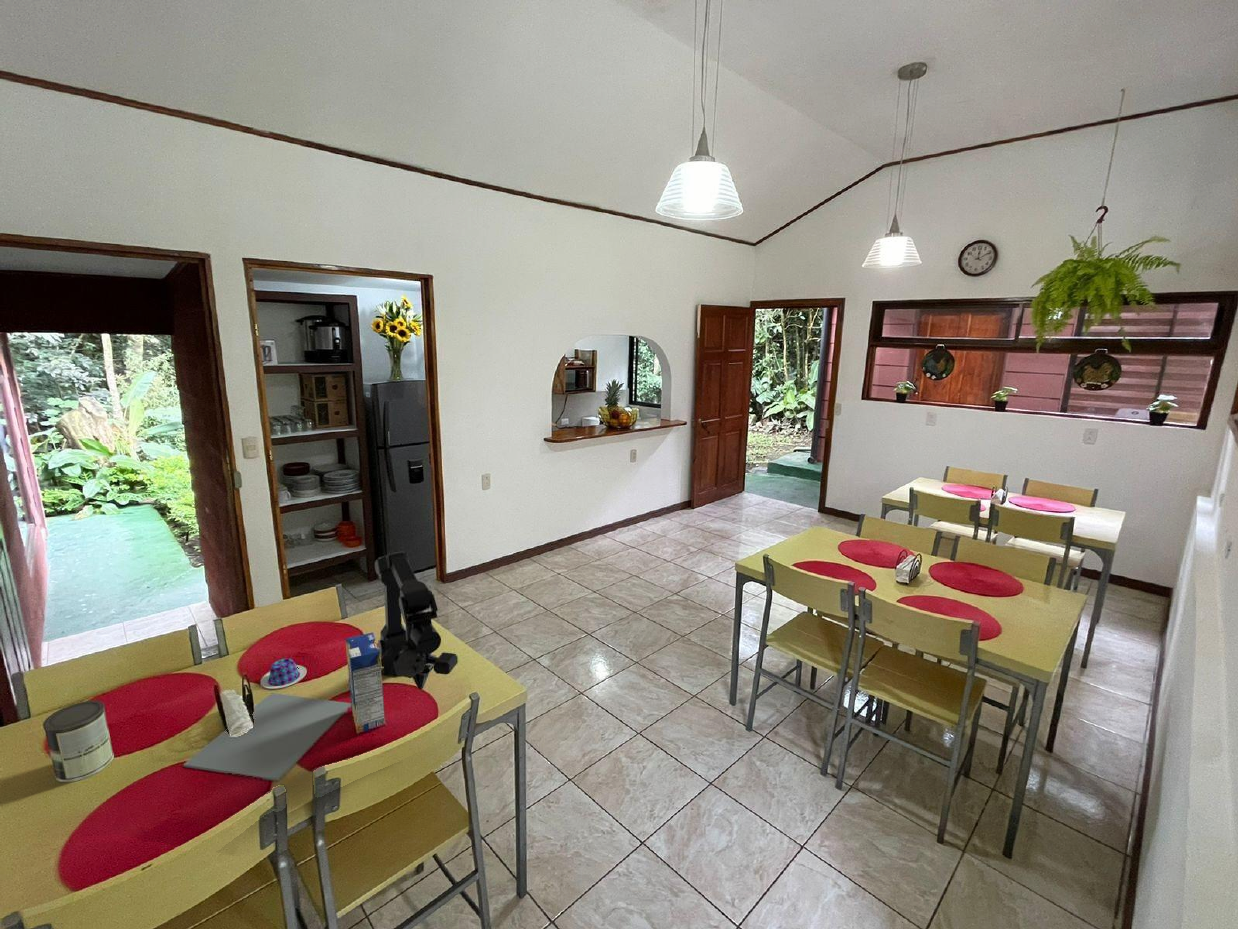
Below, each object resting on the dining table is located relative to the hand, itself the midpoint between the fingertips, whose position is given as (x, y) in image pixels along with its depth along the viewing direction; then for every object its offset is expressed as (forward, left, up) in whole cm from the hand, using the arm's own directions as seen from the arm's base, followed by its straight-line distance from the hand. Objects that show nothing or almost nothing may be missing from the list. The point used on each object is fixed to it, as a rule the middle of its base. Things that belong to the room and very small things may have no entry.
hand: (421, 689), depth 147 cm
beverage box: (0, -16, -11) cm, 19 cm away
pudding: (-12, -51, -12) cm, 54 cm away
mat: (+10, -36, -11) cm, 39 cm away
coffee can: (+28, -71, -11) cm, 77 cm away
